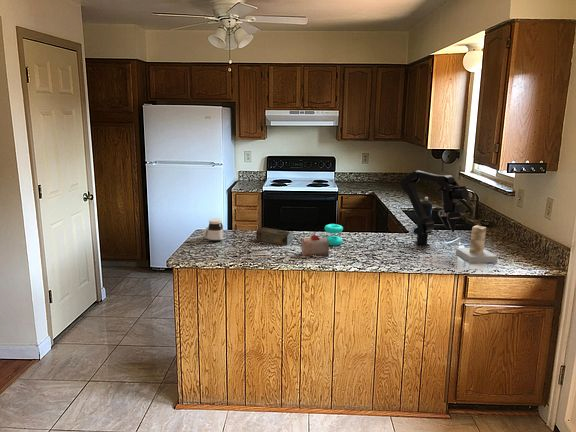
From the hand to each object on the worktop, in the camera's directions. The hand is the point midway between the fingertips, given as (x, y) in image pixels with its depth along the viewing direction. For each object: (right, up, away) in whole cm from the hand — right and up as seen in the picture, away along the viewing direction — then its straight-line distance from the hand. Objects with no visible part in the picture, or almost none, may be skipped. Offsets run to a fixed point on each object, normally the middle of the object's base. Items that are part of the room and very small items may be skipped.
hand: (450, 230), depth 235 cm
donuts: (-59, -8, +16) cm, 61 cm away
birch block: (+11, -11, -5) cm, 16 cm away
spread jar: (-125, -6, +19) cm, 126 cm away
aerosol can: (0, -1, +47) cm, 47 cm away
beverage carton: (-91, -7, +18) cm, 93 cm away
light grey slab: (+11, -14, -4) cm, 18 cm away
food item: (-70, -12, -2) cm, 71 cm away
